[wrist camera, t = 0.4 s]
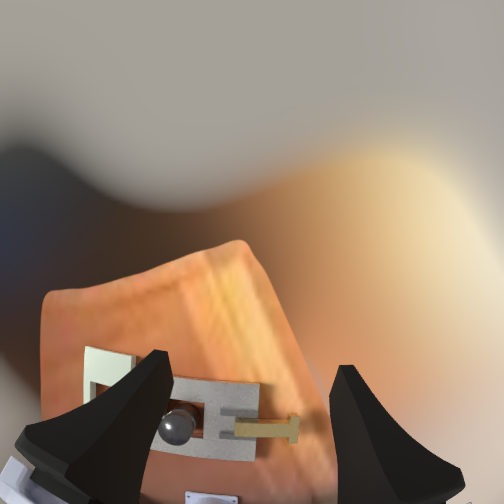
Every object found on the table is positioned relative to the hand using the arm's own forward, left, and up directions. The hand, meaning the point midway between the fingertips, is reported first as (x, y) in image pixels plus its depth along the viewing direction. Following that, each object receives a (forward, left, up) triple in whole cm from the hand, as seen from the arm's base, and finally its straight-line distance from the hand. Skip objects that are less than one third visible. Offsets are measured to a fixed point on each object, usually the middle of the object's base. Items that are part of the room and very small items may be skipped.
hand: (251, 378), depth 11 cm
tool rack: (-10, +20, -28) cm, 36 cm away
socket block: (-10, +6, -28) cm, 30 cm away
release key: (-10, -3, -26) cm, 28 cm away
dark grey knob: (-10, +8, -28) cm, 31 cm away
